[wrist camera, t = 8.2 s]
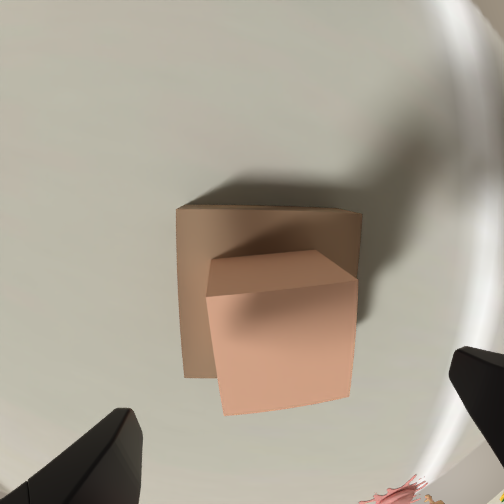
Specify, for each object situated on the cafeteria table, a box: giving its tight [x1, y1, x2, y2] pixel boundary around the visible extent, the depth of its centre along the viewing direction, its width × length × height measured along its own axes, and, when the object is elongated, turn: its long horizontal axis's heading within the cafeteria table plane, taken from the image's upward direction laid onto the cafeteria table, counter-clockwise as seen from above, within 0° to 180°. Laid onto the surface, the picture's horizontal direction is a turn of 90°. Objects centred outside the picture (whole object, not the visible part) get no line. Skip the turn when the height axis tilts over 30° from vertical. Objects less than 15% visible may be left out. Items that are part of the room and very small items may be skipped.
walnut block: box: [176, 205, 362, 378], centre depth 17 cm, size 9×9×4 cm
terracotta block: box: [206, 250, 358, 416], centre depth 13 cm, size 5×5×5 cm
